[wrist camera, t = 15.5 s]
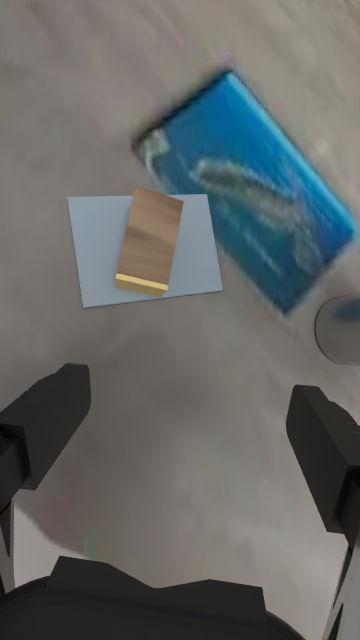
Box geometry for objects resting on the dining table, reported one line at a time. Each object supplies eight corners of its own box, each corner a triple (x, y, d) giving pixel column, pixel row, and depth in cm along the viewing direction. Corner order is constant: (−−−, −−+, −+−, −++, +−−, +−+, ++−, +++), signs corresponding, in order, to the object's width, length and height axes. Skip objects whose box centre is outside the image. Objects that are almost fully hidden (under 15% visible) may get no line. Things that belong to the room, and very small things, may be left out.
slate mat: (205, 196, 32) (206, 194, 31) (220, 291, 31) (222, 290, 31) (68, 200, 28) (67, 197, 27) (84, 308, 27) (83, 307, 27)
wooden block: (175, 219, 30) (160, 297, 29) (132, 206, 29) (115, 287, 28) (184, 201, 26) (167, 290, 25) (135, 185, 25) (115, 278, 24)
